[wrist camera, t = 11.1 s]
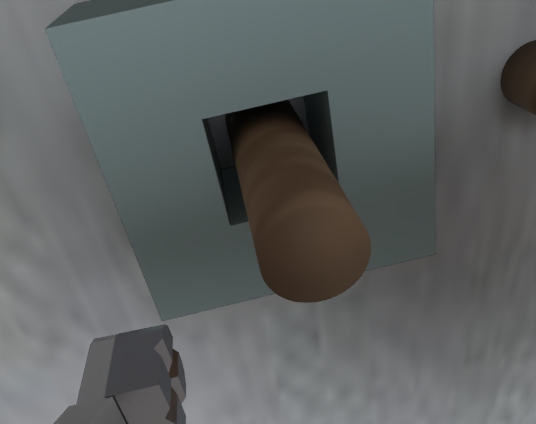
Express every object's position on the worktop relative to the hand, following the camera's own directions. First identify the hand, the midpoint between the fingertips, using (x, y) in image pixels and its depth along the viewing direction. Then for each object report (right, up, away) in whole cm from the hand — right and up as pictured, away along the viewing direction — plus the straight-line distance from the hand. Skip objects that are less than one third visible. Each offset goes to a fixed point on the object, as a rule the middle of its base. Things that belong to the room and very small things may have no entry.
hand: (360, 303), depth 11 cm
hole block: (-2, +6, +12) cm, 14 cm away
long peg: (-2, +6, +12) cm, 14 cm away
